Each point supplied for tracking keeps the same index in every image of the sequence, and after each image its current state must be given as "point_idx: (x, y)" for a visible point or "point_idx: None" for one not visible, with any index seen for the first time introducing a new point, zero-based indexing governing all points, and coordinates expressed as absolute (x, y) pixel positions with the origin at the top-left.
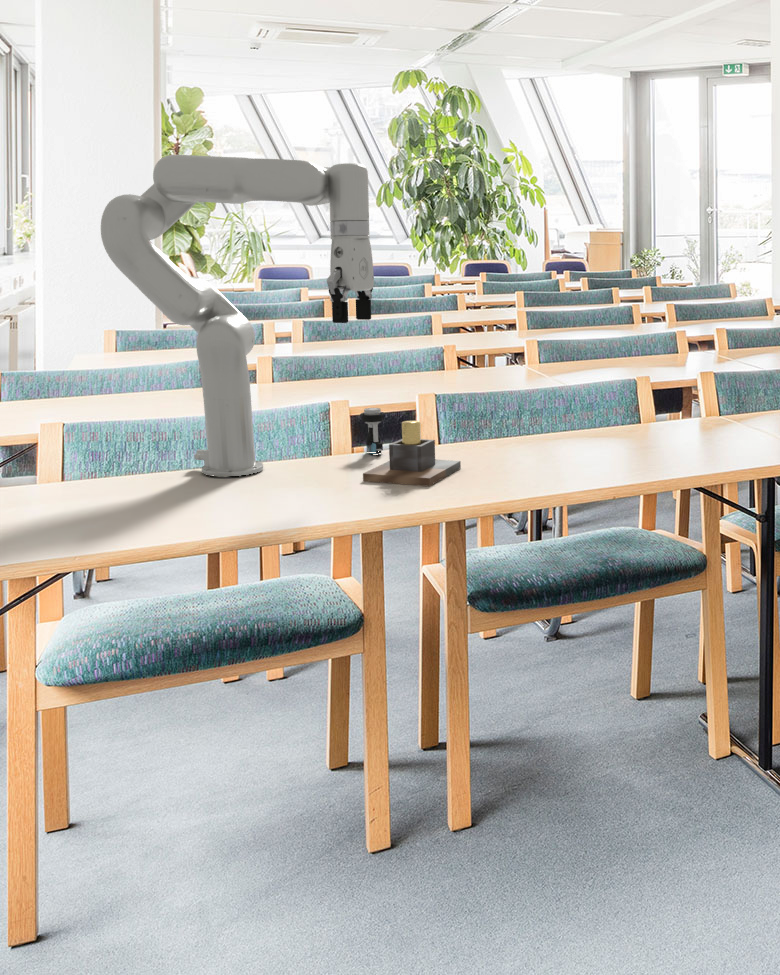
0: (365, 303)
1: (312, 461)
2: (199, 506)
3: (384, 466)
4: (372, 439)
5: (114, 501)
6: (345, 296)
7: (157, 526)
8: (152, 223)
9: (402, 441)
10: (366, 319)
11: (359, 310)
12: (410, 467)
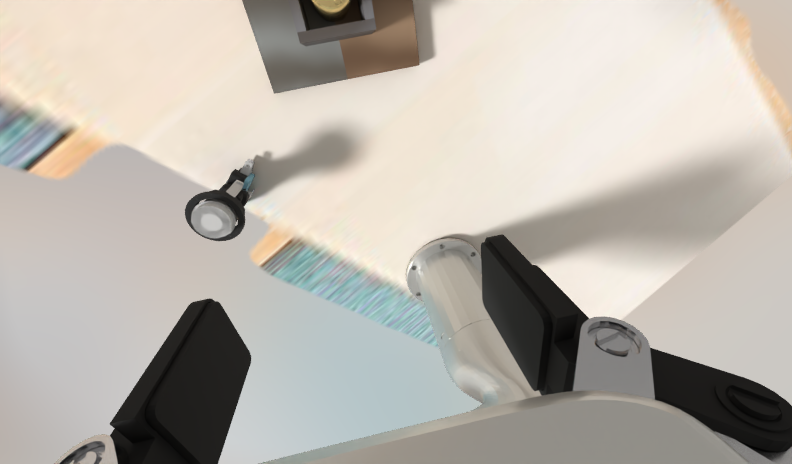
0: (183, 403)
1: (344, 231)
2: (602, 176)
3: (355, 63)
4: (241, 192)
5: (594, 265)
6: (603, 360)
7: (684, 150)
8: None
9: (346, 6)
10: (221, 312)
11: (228, 385)
12: None
